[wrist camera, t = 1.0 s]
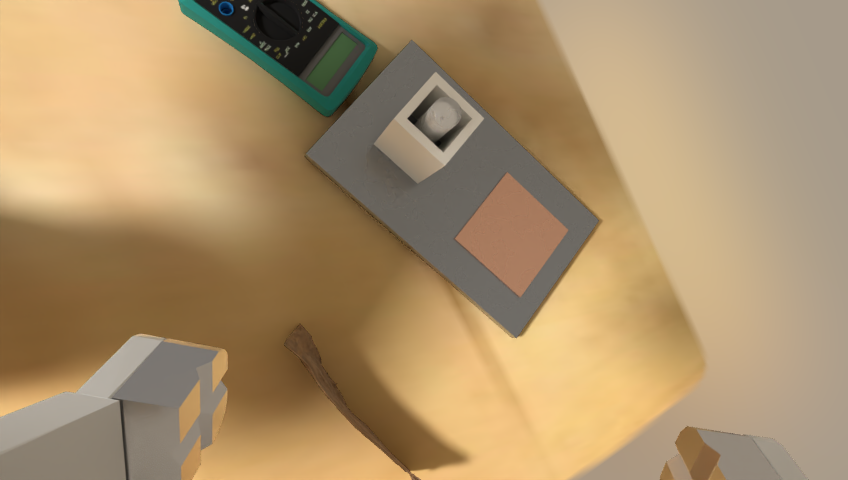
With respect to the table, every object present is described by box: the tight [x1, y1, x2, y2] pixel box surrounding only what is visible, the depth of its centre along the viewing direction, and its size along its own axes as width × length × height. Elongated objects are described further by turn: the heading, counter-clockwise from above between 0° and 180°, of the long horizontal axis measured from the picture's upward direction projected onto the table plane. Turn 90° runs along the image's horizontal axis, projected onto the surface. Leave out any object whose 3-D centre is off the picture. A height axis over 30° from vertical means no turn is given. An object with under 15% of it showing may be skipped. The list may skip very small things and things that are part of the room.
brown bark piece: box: [284, 324, 421, 480], centre depth 41 cm, size 15×2×5 cm, turn 42°
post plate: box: [305, 40, 599, 338], centre depth 43 cm, size 24×14×10 cm, turn 51°
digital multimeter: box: [178, 0, 377, 117], centre depth 43 cm, size 7×15×3 cm, turn 57°
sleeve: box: [374, 72, 484, 184], centre depth 42 cm, size 5×5×7 cm
